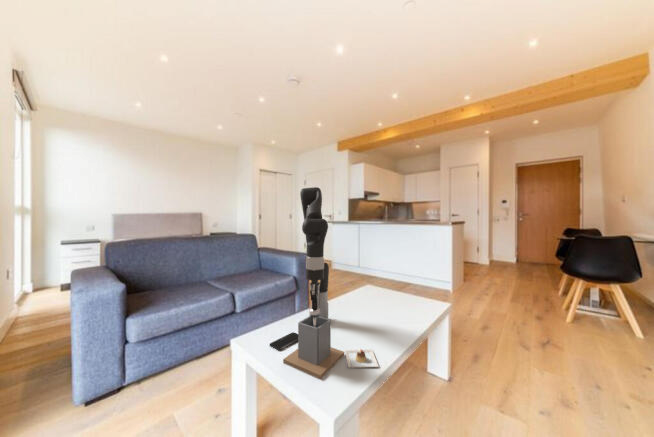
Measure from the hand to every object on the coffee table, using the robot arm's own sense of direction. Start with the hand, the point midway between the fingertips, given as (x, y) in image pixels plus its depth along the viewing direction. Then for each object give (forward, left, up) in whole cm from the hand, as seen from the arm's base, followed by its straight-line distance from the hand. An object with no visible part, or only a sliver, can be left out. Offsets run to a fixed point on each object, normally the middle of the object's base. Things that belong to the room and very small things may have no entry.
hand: (314, 309), depth 98 cm
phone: (-4, -19, -21) cm, 29 cm away
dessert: (-10, +16, -21) cm, 29 cm away
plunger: (0, 0, -17) cm, 17 cm away
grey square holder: (0, 0, -21) cm, 21 cm away
